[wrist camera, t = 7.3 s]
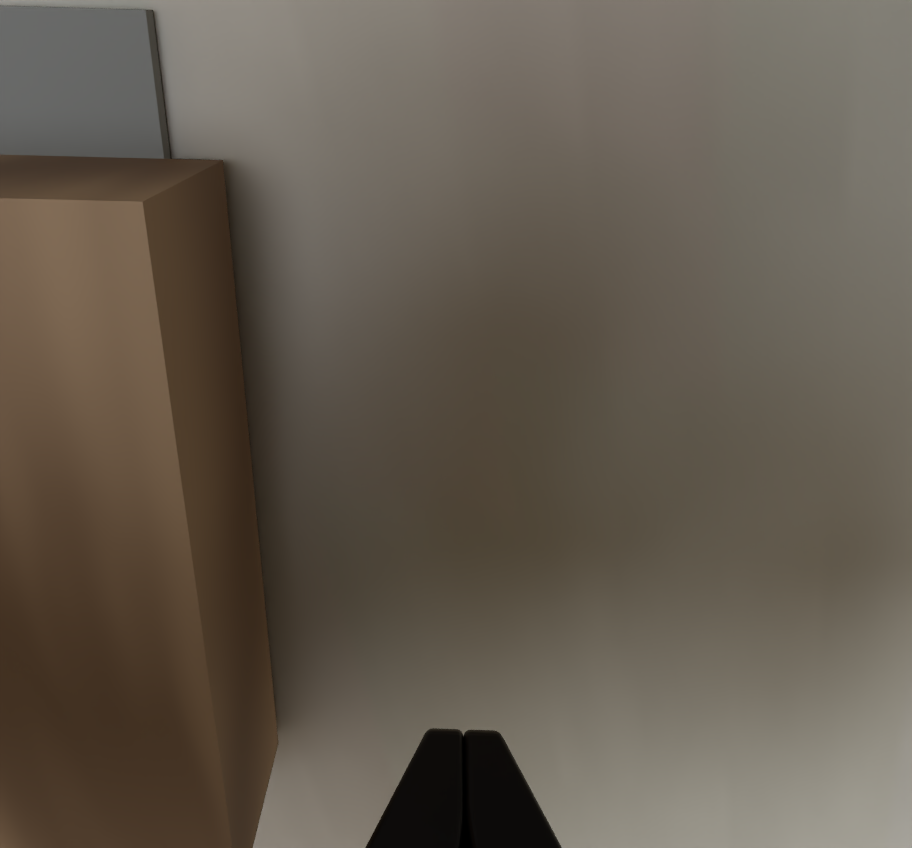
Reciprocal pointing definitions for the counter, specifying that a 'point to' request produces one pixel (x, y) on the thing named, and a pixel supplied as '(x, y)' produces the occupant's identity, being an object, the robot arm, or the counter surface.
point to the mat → (80, 83)
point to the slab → (126, 514)
